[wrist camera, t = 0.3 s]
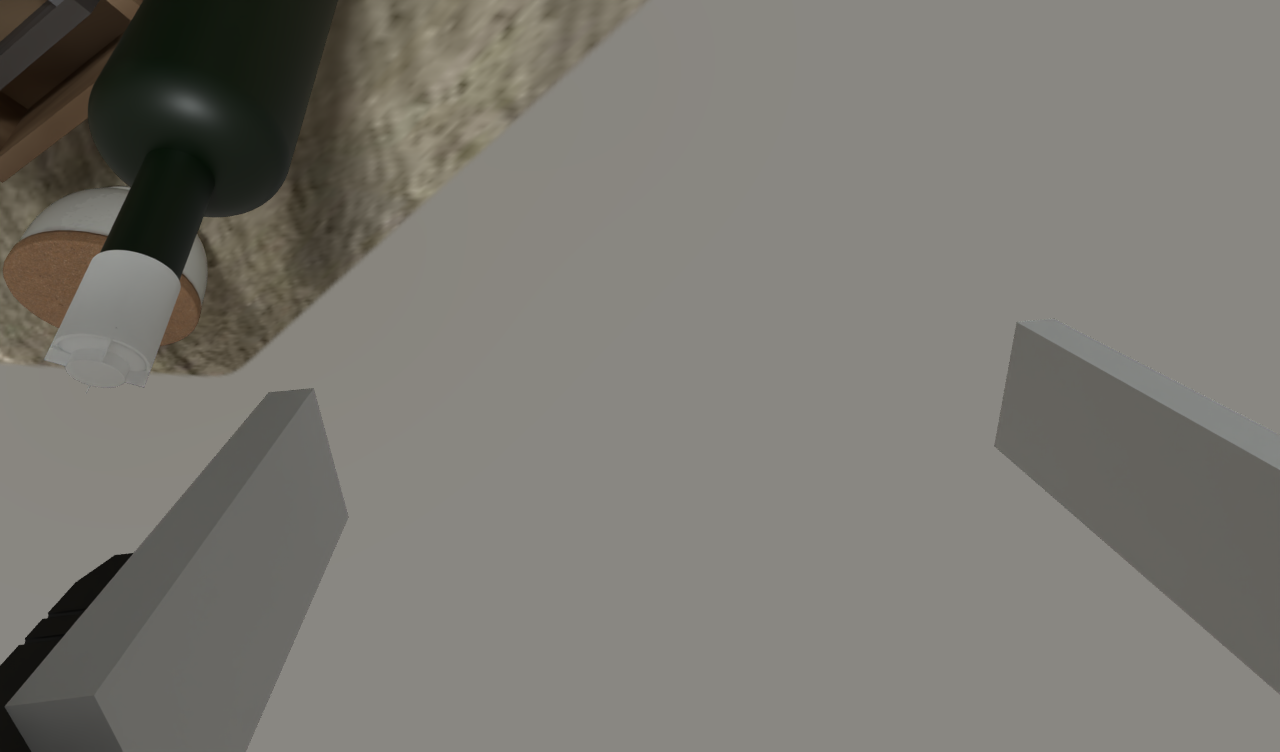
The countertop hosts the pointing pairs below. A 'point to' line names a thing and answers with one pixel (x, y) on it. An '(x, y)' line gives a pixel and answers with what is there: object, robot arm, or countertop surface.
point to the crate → (51, 69)
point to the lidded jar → (87, 259)
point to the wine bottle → (184, 158)
